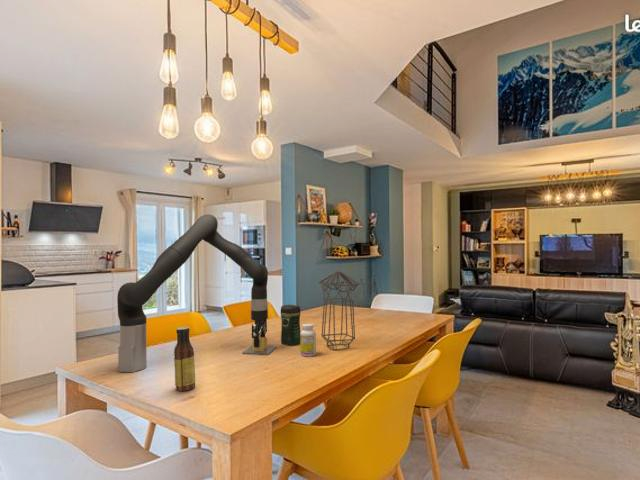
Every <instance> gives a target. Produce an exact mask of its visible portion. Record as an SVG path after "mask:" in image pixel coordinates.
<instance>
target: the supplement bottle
mask: <svg viewBox="0 0 640 480" xmlns="http://www.w3.org/2000/svg"><path fill="white" fill-rule="evenodd" d="M301 328H302V330H300V344H299V345H300V355H301V356H302V357H308V358H309V357H314V356H316V354H317V340H316V339H317V337H316V335H317V334H316V331H315V330H314V324H313V323H304V324H302V326H301Z"/></svg>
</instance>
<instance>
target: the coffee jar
mask: <svg viewBox="0 0 640 480" xmlns="http://www.w3.org/2000/svg"><path fill="white" fill-rule="evenodd" d="M300 307H301V306H299V305H296V304H295V305H294V304H284V305H281V307H280V317H281V319H280V320H281V333H280V343H281V344H282V345H285V346H297V345H300V332H301V324H300V321H301V320H300V319H301V313H302V312H301V308H300Z"/></svg>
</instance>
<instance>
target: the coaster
mask: <svg viewBox="0 0 640 480" xmlns="http://www.w3.org/2000/svg"><path fill="white" fill-rule="evenodd" d="M275 349H277V345H276V346H274V345H267V348H266V349H265V350H264V351H253V345H251V346H250V347H248V348H246V349H245V350H244V351H242V353H241V354H242V355H256V356H257V355H259V356H261V355H263V356H266V355H267V356H268V355H270V354H271V353H272V352H274V351H275Z"/></svg>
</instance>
